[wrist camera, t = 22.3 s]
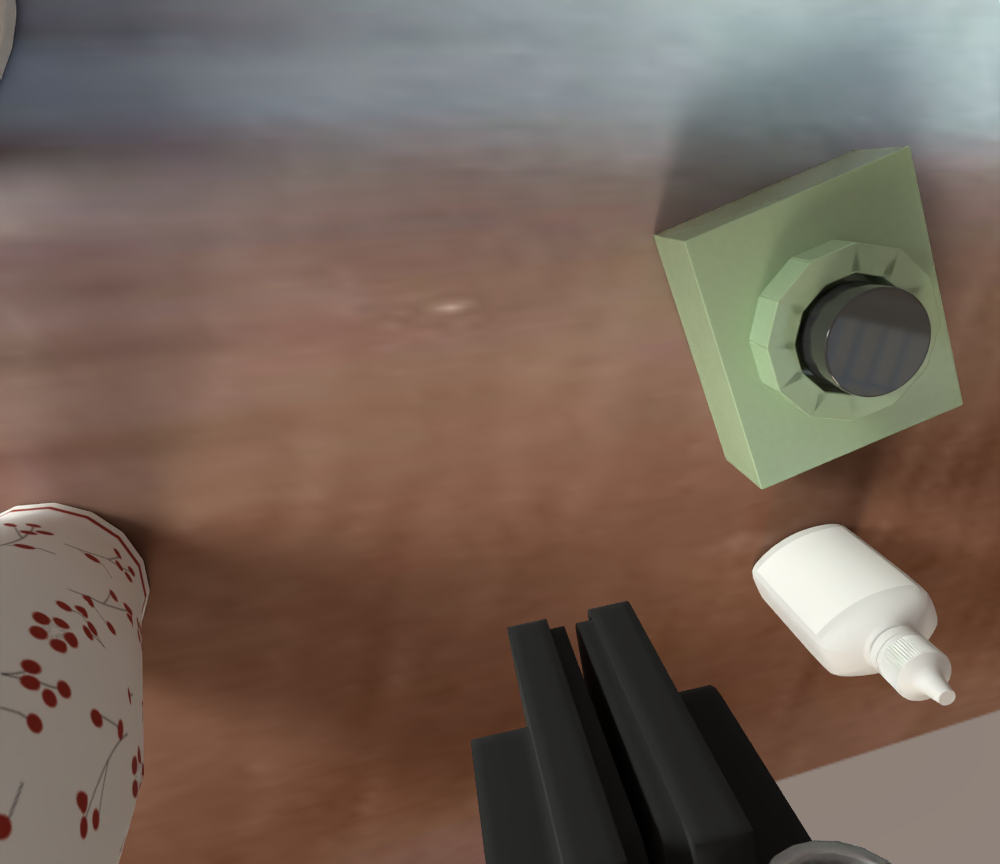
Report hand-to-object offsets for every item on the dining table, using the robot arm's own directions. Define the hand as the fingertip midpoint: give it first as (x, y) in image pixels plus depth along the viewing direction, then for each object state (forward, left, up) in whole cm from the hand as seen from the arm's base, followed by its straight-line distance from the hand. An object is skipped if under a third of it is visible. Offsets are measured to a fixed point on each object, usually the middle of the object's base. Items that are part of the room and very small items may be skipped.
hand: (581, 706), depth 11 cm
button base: (+2, +16, -27) cm, 32 cm away
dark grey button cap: (+2, +16, -21) cm, 27 cm away
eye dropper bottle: (+16, +16, -27) cm, 35 cm away
